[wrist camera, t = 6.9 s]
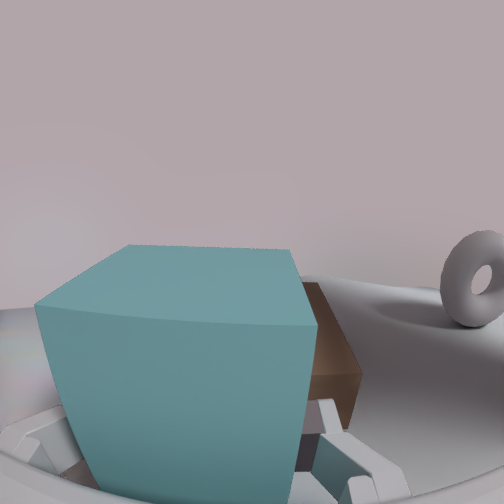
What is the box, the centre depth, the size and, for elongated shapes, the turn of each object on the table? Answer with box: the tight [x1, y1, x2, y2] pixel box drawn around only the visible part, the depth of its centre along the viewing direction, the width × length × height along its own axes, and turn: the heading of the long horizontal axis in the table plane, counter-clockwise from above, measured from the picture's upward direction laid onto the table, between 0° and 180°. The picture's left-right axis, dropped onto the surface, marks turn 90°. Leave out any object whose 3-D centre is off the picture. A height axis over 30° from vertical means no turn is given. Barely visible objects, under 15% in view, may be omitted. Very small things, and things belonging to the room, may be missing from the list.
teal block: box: [34, 245, 318, 504], centre depth 9 cm, size 5×5×11 cm
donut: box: [440, 230, 504, 327], centre depth 26 cm, size 10×3×10 cm, turn 82°
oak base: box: [302, 282, 362, 429], centre depth 22 cm, size 14×14×4 cm
